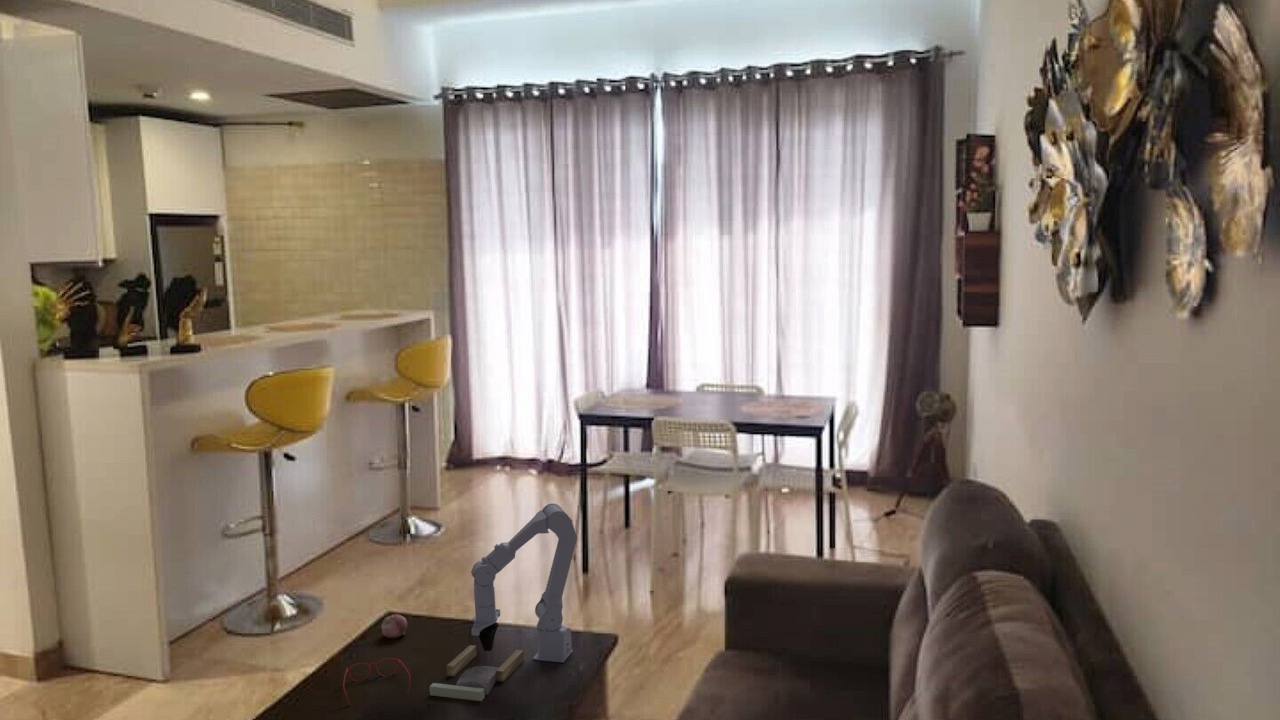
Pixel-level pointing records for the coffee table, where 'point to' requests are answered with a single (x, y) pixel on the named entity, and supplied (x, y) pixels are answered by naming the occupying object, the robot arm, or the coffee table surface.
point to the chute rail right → (509, 665)
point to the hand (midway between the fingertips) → (487, 649)
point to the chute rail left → (461, 660)
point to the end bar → (457, 692)
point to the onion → (394, 626)
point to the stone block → (479, 678)
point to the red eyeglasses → (376, 669)
